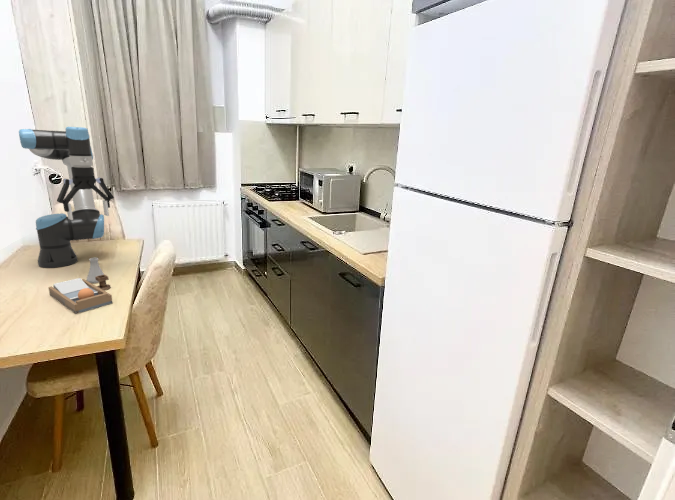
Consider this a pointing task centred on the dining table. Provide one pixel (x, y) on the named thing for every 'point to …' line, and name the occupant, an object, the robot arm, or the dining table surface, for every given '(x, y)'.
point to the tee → (103, 282)
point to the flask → (94, 271)
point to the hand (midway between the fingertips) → (89, 217)
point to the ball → (85, 293)
